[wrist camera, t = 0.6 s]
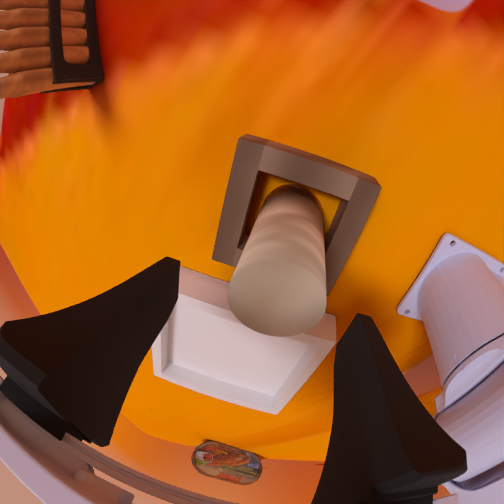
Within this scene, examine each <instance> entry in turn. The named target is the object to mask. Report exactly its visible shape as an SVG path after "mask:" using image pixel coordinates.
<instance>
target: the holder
mask: <svg viewBox="0 0 504 504" xmlns="http://www.w3.org/2000/svg"><path fill="white" fill-rule="evenodd" d="M261 171H263V172H266V173H269V174H273V175H276V176H279V177H282V178H285V179H288V180H291V181H294V182H297V183H300V184H303V185H306V186H309V187H312V188H315V189H318V190H321V191H324V192H326V193H329V194H332V195H335V196H337V197H340V198H342V199H341V202H340V204H339V206H338V209H337V211H336V214H335V216H334V218H333V221H332V223H331V225H330V228H329V230H328V232H327V235H326V237H325V239H324V249H325V269H326V296H328V295H329V293H330V291H331V289H332V288H333V286H334V284H335V282H336V280H337V278H338V277H339V275H340V273H341V271H342V269H343V267H344V265H345V263H346V261H347V259H348V257H349V256H350V254H351V252H352V250H353V248H354V246H355V244H356V242H357V240H358V238H359V236H360V234H361V231H362V229H363V227H364V225H365V223H366V221H367V219H368V217H369V215H370V212H371V210H372V208H373V206H374V204H375V201H376V199H377V197H378V195H379V192H380V190H381V188H382V187H381V186H380V184H379V183H378V182H377V180H376V179H375V178H374V177H372V176H369V175H367V174H365V173H362V172H360V171H357V170H355V169H352V168H350V167H347V166H344V165H342V164H339V163H337V162H334V161H331V160H328V159H326V158H323V157H320V156H317V155H314V154H311V153H308V152H305V151H302V150H299V149H296V148H293V147H290V146H287V145H284V144H280V143H277V142H274V141H270V140H267V139H263V138H260V137H256V136H252V135H249V134H245V135H244V136H242V137H240V138H239V140H238V144H237V148H236V152H235V156H234V160H233V164H232V169H231V173H230V177H229V182H228V186H227V190H226V195H225V199H224V204H223V208H222V213H221V217H220V222H219V227H218V232H217V236H216V241H215V246H214V251H213V256H212V260H215V261H218V262H221V263H224V264H227V265H230V266H233V267H237V264H238V262H239V260H240V257H241V255H242V252H243V250H244V248H245V245H246V243H247V241H248V238H249V236H247V235H244V231H245V227H246V224H247V220H248V216H249V213H250V209H251V205H252V202H253V198H254V194H255V191H256V187H257V184H258V180H259V176H260V173H261Z"/></svg>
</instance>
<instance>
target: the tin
mask: <svg viewBox="0 0 504 504" xmlns="http://www.w3.org/2000/svg"><path fill="white" fill-rule="evenodd" d="M192 464H193V466H194V468H195V469H196V470H197V471H198V472H199V473H201V474H203V475H205V476H209V477H212V478H216V479H220V480H223V481H227V482H231V483H235V484H239V485H248V484H252V483H254V482H255V481H256V480H257V479H259V477H260V475H261V473H262V464H261V461H260V459H259V458H258V457H257V456H256V455H255V454H254V453H252V452H249V451H245V450H242V449H238V448H235V447H231V446H228V445H225V444H222V443H219V442H215V441H208V442H204V443H202V444H200V445H199V446H198V447H196V448H195V450H194V451H193V454H192Z"/></svg>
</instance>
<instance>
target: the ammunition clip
mask: <svg viewBox="0 0 504 504" xmlns="http://www.w3.org/2000/svg"><path fill="white" fill-rule="evenodd" d="M0 10H6V11H0V29H3V30H6V31H0V50H4V51H9V52H6V53H2V54H0V73H14V74H11V75H9V76H6V77H2V78H0V99H1V98H6V97H19V96H24V95H28V94H33V93H38V92H40V93H41V94H42V93H49V92H58V91H68V90H81V89H89V88H91V87H93V86H94V85H96V84H98V83H100V82H102V81H103V79H104V74H103V68H102V62H101V55H100V48H99V41H98V32H97V23H96V12H95V0H0Z"/></svg>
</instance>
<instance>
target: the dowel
mask: <svg viewBox="0 0 504 504" xmlns="http://www.w3.org/2000/svg"><path fill="white" fill-rule="evenodd" d="M227 300H228V304H229V307H230V309H231V311H232V313H233V314H234V316H235V317H236V318H237V319H238V320H239V321H240V322H241V323H242V324H244V325H245V326H246V327H248V328H250V329H252V330H254V331H256V332H258V333H261V334H265V335H269V336H276V337H287V336H294V335H298V334H301V333H304V332H306V331H308V330H310V329H311V328H313V327H314V326H315V325H316V324H317V323H318V322H319V321H320V320H321V319H322V317H323V315H324V313H325V310H326V304H327V301H326V269H325V249H324V233H323V219H322V208H321V204H320V202H319V200H318V198H317V197H316V195H315V194H314V193H313V192H312V191H310V190H309V189H307V188H305V187H303V186H300V185H295V184H287V185H282V186H279V187H277V188H275V189H274V190H273V191H271V192H270V193H269V194H268V196H267V197H266V199H265V201H264V203H263V206H262V208H261V210H260V213H259V215H258V217H257V220H256V222H255V224H254V227H253V229H252V231H251V234H250V236H249V238H248V241H247V243H246V245H245V248H244V250H243V252H242V255H241V257H240V260H239V262H238V264H237V267H236V269H235V271H234V274H233V276H232V278H231V281H230V283H229V286H228V290H227Z"/></svg>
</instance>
